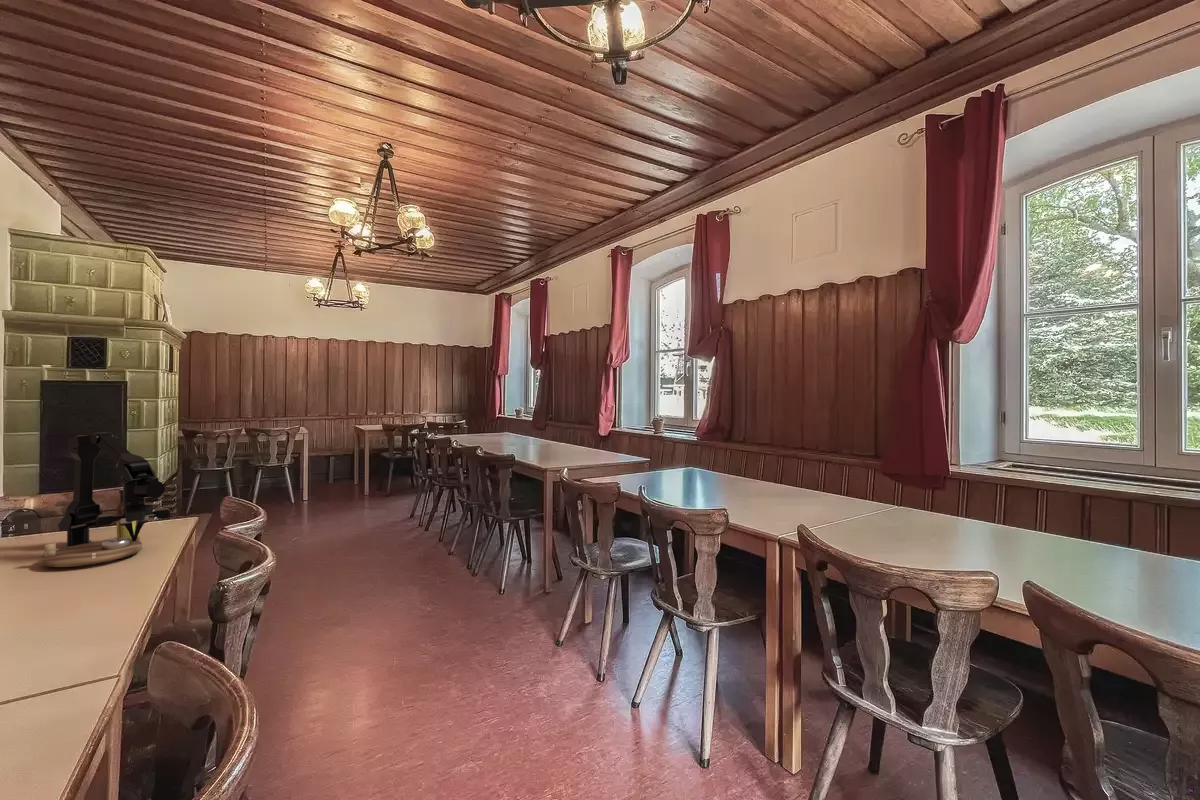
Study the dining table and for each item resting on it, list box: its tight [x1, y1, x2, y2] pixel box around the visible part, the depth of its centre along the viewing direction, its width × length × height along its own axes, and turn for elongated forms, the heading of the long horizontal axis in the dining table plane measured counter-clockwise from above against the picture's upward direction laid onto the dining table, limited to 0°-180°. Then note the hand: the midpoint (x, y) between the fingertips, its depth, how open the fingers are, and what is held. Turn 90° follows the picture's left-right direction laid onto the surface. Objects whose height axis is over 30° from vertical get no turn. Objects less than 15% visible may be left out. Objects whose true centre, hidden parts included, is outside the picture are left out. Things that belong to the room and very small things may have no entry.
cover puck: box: [101, 536, 130, 550], centre depth 176 cm, size 7×7×2 cm
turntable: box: [40, 540, 143, 568], centre depth 172 cm, size 24×24×6 cm
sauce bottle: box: [115, 488, 141, 541], centre depth 191 cm, size 7×6×20 cm
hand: (134, 541), depth 179 cm, fingers closed
